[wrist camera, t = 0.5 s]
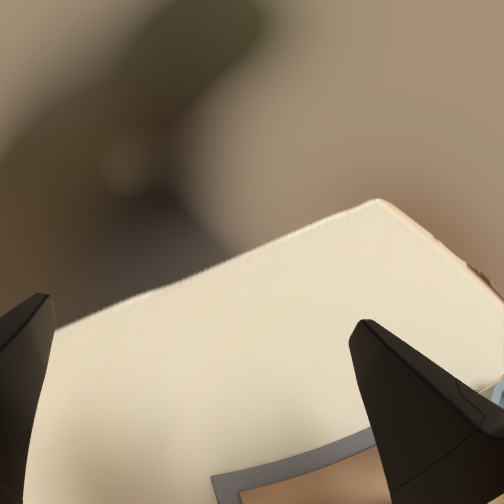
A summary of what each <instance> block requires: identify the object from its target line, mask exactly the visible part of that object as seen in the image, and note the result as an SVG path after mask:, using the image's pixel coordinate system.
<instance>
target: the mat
mask: <svg viewBox="0 0 504 504" xmlns="http://www.w3.org/2000/svg"><path fill="white" fill-rule="evenodd" d="M374 445H376V442H375V439H374V435H373V432H372V429H371V427H370V428H368V429H366V430H363V431H361V432H359V433H357V434H354V435H352V436H349V437H347V438H345V439H342V440H340V441H337V442H334V443H332V444H329V445H327V446H324V447H321V448H318V449H315V450H313V451H310V452H307V453H304V454H301V455H297V456H294V457H291V458H288V459H284V460H281V461H277V462H274V463H270V464H266V465H263V466H259V467H254V468H250V469H246V470H241V471H237V472H232V473H227V474H222V475H216V476H211V479H212V482H213V486H214V489H215V493H216V496H217V499H218V503H219V504H243V503H242V499H241V496H240V493H239V491H244V490H248V489H253V488H257V487H261V486H265V485H269V484H272V483H276V482H280V481H283V480H286V479H290V478H293V477H296V476H299V475H302V474H305V473H308V472H311V471H314V470H317V469H320V468H322V467H325V466H328V465H330V464H333V463H335V462H338V461H340V460H343V459H345V458H348V457H350V456H352V455H355V454H357V453H359V452H361V451H364V450H366V449H368V448H370V447H372V446H374Z"/></svg>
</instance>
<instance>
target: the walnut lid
mask: <svg viewBox="0 0 504 504" xmlns="http://www.w3.org/2000/svg"><path fill="white" fill-rule="evenodd" d="M239 493H240V496H241V499H242V503H243V504H392V501H391V497H390V492H389V489H388V485H387V481H386V478H385V474H384V470H383V467H382V463H381V459H380V456H379V452H378V449H377V446H376V445H374V446H372V447H370V448H368V449H366V450H364V451H361V452H359V453H357V454H355V455H352V456H350V457H348V458H345V459H343V460H340V461H338V462H335V463H333V464H330V465H328V466H325V467H322V468H320V469H317V470H314V471H311V472H308V473H305V474H302V475H299V476H296V477H293V478H290V479H286V480H283V481H280V482H276V483H272V484H269V485H265V486H261V487H257V488H253V489H248V490H244V491H239Z"/></svg>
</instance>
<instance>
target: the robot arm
mask: <svg viewBox="0 0 504 504" xmlns="http://www.w3.org/2000/svg"><path fill="white" fill-rule="evenodd" d="M55 327H56V316H55V312H54V307H53V302H52V298H51V296H50V295H49V294H44V293H36V294H34V295H32V296H31V297H29V298H28V299H26V300H25V301H23V302H22V303H20V304H19V305H18V306H16V307H15V308H13V309H12V310H10V311H9V312H7V313H6V314H4V315H3V316H1V317H0V504H23V499H22V498H23V490H24V479H25V471H26V463H27V456H28V450H29V444H30V438H31V433H32V428H33V423H34V418H35V414H36V409H37V405H38V401H39V397H40V393H41V389H42V385H43V382H44V378H45V374H46V370H47V365H48V360H49V355H50V350H51V345H52V340H53V336H54V331H55ZM349 349H350V353H351V357H352V361H353V366H354V370H355V375H356V379H357V384H358V387H359V391H360V394H361V397H362V400H363V403H364V406H365V409H366V413H367V416H368V419H369V422H370V425H371V429H372V432H373V435H374V439H375V442H376V446H377V449H378V452H379V456H380V459H381V463H382V467H383V470H384V474H385V478H386V481H387V485H388V489H389V492H390V497H391V501H392V504H504V408H502V407H500V406H499V405H497V404H495V403H494V402H492V401H490V400H489V399H487V398H485V397H484V396H482V395H481V394H479V393H477V392H476V391H474V390H473V389H471V388H470V387H468V386H467V385H465V384H464V383H463V382H461V381H460V380H458V379H457V378H454V376H453V375H451V374H450V373H448V372H447V371H445V370H444V369H443V368H441V367H440V366H438V365H437V364H435V363H434V362H433V361H431V360H430V359H428V358H427V357H425V356H424V355H423V354H421V353H420V352H418V351H417V350H415V349H414V348H413V347H411V346H410V345H408V344H407V343H405V342H404V341H403V340H401V339H400V338H398V337H397V336H395V335H394V334H392V333H391V332H390V331H388V330H387V329H385V328H384V327H382V326H381V325H379V324H378V323H376V322H375V321H374V320H371V319H362V320H360V321H359V322H358V323H357V325H356V327H355V329H354V331H353V333H352V334H351V336H350V338H349Z"/></svg>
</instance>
